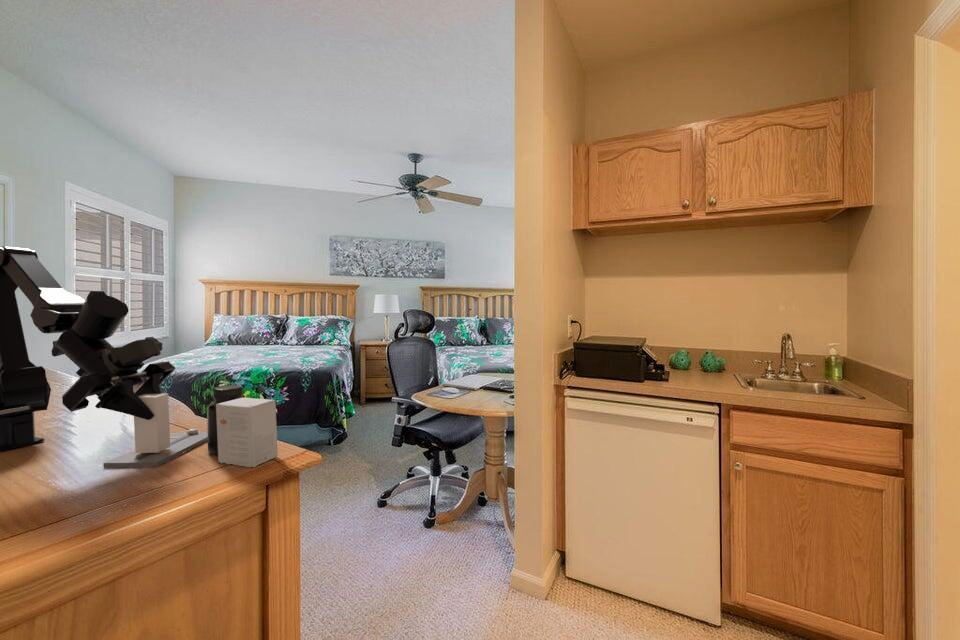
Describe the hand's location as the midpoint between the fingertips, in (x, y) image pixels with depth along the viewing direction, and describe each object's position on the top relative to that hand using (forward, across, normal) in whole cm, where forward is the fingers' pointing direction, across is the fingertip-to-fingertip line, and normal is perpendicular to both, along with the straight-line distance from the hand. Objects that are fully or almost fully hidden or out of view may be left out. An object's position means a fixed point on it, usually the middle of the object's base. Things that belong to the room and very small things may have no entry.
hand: (159, 415), depth 76 cm
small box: (+18, -3, -7) cm, 19 cm away
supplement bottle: (+13, +3, -2) cm, 14 cm away
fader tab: (+4, 0, +5) cm, 7 cm away
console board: (+4, +4, +6) cm, 9 cm away
